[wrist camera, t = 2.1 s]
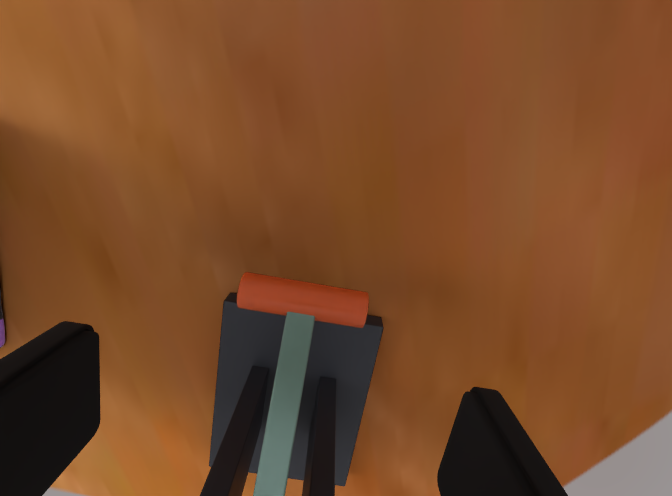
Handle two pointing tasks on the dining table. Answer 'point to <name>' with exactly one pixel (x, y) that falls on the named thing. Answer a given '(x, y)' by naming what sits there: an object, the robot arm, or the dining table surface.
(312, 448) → the two-post lever stand
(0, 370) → the robot arm
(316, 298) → the switch lever
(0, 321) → the candy box
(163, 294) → the dining table surface
